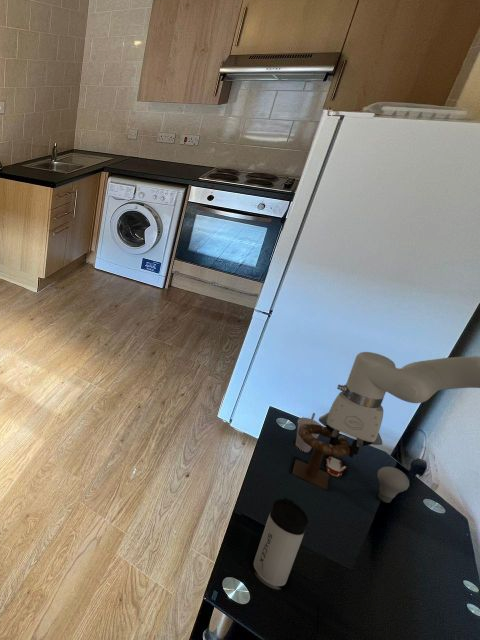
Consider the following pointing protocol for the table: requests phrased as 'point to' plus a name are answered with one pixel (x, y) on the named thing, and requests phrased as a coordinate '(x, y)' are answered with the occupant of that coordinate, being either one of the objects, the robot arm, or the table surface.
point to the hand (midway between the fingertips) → (341, 450)
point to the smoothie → (301, 443)
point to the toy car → (334, 466)
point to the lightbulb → (391, 483)
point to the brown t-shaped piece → (312, 470)
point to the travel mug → (280, 543)
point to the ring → (338, 450)
